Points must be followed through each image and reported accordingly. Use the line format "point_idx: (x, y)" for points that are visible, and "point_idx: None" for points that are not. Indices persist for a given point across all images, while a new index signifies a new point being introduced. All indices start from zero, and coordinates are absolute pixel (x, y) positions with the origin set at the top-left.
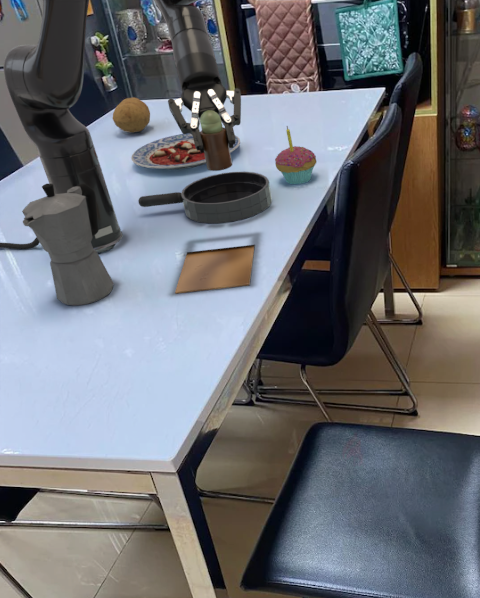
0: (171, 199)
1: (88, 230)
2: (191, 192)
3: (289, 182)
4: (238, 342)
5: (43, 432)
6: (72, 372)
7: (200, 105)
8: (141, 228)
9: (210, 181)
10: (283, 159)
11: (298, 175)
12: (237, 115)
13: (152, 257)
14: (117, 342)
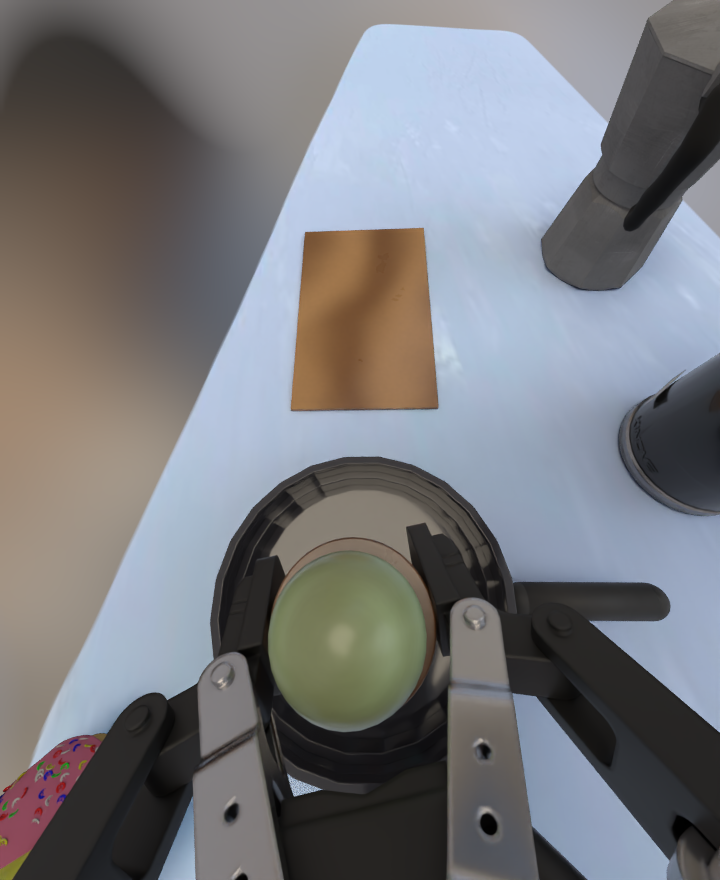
0: (543, 582)
1: (616, 131)
2: None
3: None
4: (318, 129)
5: (496, 45)
6: (509, 105)
7: (443, 854)
8: (603, 529)
9: (436, 752)
10: None
11: None
12: (137, 707)
13: (508, 358)
14: (474, 143)
